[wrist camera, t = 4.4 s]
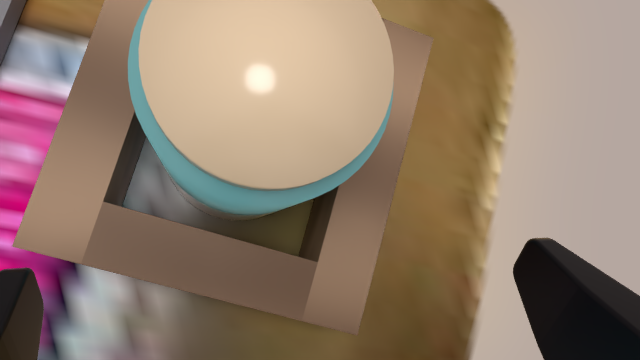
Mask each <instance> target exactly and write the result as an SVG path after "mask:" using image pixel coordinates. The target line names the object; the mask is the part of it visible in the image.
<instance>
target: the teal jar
mask: <svg viewBox="0 0 640 360" xmlns="http://www.w3.org/2000/svg"><path fill="white" fill-rule="evenodd" d="M393 79H394V65H393V54H392V49H391V44H390V39H389V36H388V33H387V30H386V27H385V25H384V22H383V20H382V18H381V16H380V14H379V12H378V10H377V8H376V7H375V5H374V4H373V2H372V0H149V1H148V2H147V4H146V6H145V7H144V9H143V10H142V12H141V14H140V17H139V19H138V21H137V23H136V26H135V28H134V32H133V35H132V39H131V43H130V48H129V56H128V83H129V89H130V95H131V100H132V103H133V106H134V109H135V113H136V116H137V118H138V120H139V122H140V124H141V126H142V129H143V131H144V133H145V135H146V136H147V138H148V140H149V142H150V143H151V145H152V147H153V149H154V150H155V152H156V154H157V156H158V157H159V159H160V161H161V163H162V164H163V166H164V168H165V170H166V171H167V173H168V175H169V177H170V178H171V180H172V182H173V184H174V185H175V187H176V188H177V190H178V191H179V192H180V193H181V195H182V196H183V197H184V198H185V199H186V200H187V201H188V202H189V203H191V204H192V205H193V206H195V207H196V208H197V209H199V210H201V211H202V212H204V213H206V214H208V215H211V216H214V217H217V218H221V219H225V220H235V221H242V220H251V219H256V218H260V217H263V216H266V215H269V214H271V213H274V212H277V211H280V210H282V209H285V208H288V207H291V206H293V205H296V204H299V203H302V202H304V201H307V200H310V199H313V198H315V197H318V196H320V195H322V194H324V193H326V192H328V191H330V190H332V189H334V188H336V187H337V186H339V185H340V184H342V183H343V182H345V181H346V180H347V179H349V178H350V177H351V176H352V175H353V174H354V173H355V172H357V171H358V170H359V169H360V168H361V166H362V165H363V164H364V163H365V162H366V161H367V159H368V158H369V157H370V156H371V154H372V153H373V151H374V150H375V148H376V146H377V145H378V143H379V141H380V139H381V137H382V135H383V133H384V131H385V128H386V125H387V122H388V119H389V116H390V111H391V106H392V100H393V85H394V82H393Z"/></svg>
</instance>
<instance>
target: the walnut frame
mask: <svg viewBox="0 0 640 360" xmlns="http://www.w3.org/2000/svg"><path fill="white" fill-rule="evenodd" d="M148 1H149V0H105V1H104V4H103V6H102V9H101V12H100V14H99V17H98V20H97V22H96V25H95V28H94V30H93V33H92V36H91V38H90V41H89V44H88V46H87V49H86V52H85V54H84V57H83V60H82V62H81V65H80V68H79V70H78V73H77V76H76V78H75V81H74V83H73V86H72V89H71V91H70V94H69V97H68V99H67V102H66V105H65V107H64V110H63V113H62V115H61V118H60V121H59V123H58V126H57V129H56V131H55V134H54V137H53V139H52V142H51V145H50V147H49V150H48V153H47V155H46V158H45V161H44V163H43V166H42V168H41V171H40V174H39V176H38V179H37V182H36V184H35V187H34V190H33V192H32V195H31V198H30V200H29V203H28V206H27V208H26V211H25V214H24V216H23V219H22V222H21V224H20V227H19V230H18V232H17V235H16V238H15V240H14V243H13V247H16V248H20V249H24V250H28V251H32V252H36V253H40V254H44V255H47V256H51V257H55V258H59V259H63V260H67V261H71V262H75V263H78V264H82V265H86V266H90V267H94V268H98V269H102V270H106V271H109V272H113V273H117V274H121V275H125V276H129V277H133V278H137V279H140V280H144V281H148V282H152V283H156V284H160V285H164V286H168V287H171V288H175V289H179V290H183V291H187V292H191V293H195V294H199V295H202V296H206V297H210V298H214V299H218V300H222V301H226V302H230V303H233V304H237V305H241V306H245V307H249V308H253V309H257V310H261V311H265V312H268V313H272V314H276V315H280V316H284V317H288V318H292V319H296V320H299V321H303V322H307V323H311V324H315V325H319V326H323V327H327V328H330V329H334V330H338V331H342V332H346V333H350V334H354V335H358V331H359V327H360V323H361V320H362V316H363V312H364V308H365V304H366V300H367V296H368V292H369V288H370V284H371V280H372V276H373V273H374V269H375V265H376V261H377V257H378V253H379V249H380V245H381V241H382V237H383V233H384V230H385V226H386V222H387V218H388V214H389V210H390V206H391V202H392V198H393V194H394V190H395V186H396V183H397V179H398V175H399V171H400V167H401V163H402V159H403V155H404V151H405V147H406V143H407V140H408V136H409V132H410V128H411V124H412V120H413V116H414V112H415V108H416V104H417V100H418V96H419V93H420V89H421V85H422V81H423V77H424V73H425V69H426V65H427V61H428V57H429V53H430V50H431V46H432V42H433V38H432V37H429V36H427V35H424V34H422V33H419V32H417V31H414V30H411V29H409V28H406V27H404V26H401V25H398V24H396V23H393V22H391V21H388V20H386V19H383V18H382V20H383V22H384V25H385V27H386V30H387V33H388V36H389V39H390V44H391V49H392V54H393V65H394V79H393V82H394V85H393V100H392V106H391V111H390V116H389V119H388V122H387V125H386V128H385V131H384V133H383V135H382V137H381V139H380V141H379V143H378V145H377V146H376V148H375V150H374V151H373V153H372V154H371V156H370V157H369V158H368V159H367V161H366V162H365V163H364V164H363V165H362V166H361V168H360V169H359V170H358V171H357V172H355V173H354V174H353V175H352V176H351V177H350V178H349V179H347V180H346V181H345V182H343V183H342V184H340V185H339V186H337V187H336V188H334V189H332V190H330V191H328V192H326V193H324V194H322V195H320V196H318V197H315V199H314V203H313V206H312V210H311V213H310V217H309V220H308V224H307V227H306V231H305V235H304V238H303V242H302V245H301V249H300V252H299V256H298V257H297V256H294V255H290V254H287V253H283V252H280V251H276V250H273V249H269V248H265V247H262V246H258V245H255V244H251V243H248V242H244V241H241V240H237V239H234V238H230V237H227V236H223V235H220V234H216V233H212V232H209V231H205V230H202V229H198V228H195V227H191V226H188V225H184V224H181V223H177V222H174V221H170V220H166V219H163V218H159V217H156V216H152V215H149V214H145V213H142V212H138V211H135V210H131V209H128V208H124V207H122V204H123V201H124V198H125V195H126V192H127V190H128V187H129V184H130V181H131V178H132V175H133V172H134V169H135V166H136V163H137V161H138V158H139V155H140V152H141V149H142V146H143V143H144V140H145V137H146V135H145V133H144V131H143V129H142V126H141V124H140V122H139V120H138V118H137V116H136V113H135V109H134V106H133V103H132V100H131V95H130V89H129V83H128V56H129V48H130V43H131V39H132V35H133V32H134V28H135V26H136V23H137V21H138V19H139V17H140V14H141V12H142V10H143V9H144V7H145V6H146V4H147V2H148Z"/></svg>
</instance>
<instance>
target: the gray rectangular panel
mask: <svg viewBox="0 0 640 360" xmlns="http://www.w3.org/2000/svg"><path fill="white" fill-rule="evenodd" d="M26 1H27V0H0V65H1V62H2V60H3V57H4V55H5V52H6V50H7V48H8V45H9V43H10V40H11V38H12V35H13V33H14V30H15V28H16V25H17V23H18V20H19V18H20V15H21V13H22V10H23V8H24V6H25V3H26Z"/></svg>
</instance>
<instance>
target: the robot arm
mask: <svg viewBox="0 0 640 360" xmlns="http://www.w3.org/2000/svg"><path fill="white" fill-rule="evenodd" d="M513 275H514V279H515V282H516V285H517V288H518V291H519V293H520V296H521V299H522V302H523V305H524V308H525V311H526V314H527V317H528V319H529V322H530V325H531V328H532V331H533V333H534V336H535V339H536V341H537V344H538V347H539V349H540V351H541V353H542V356H543V358H544V360H640V296H639V295H637V294H636V293H634V292H633V291H631V290H630V289H628V288H627V287H625V286H624V285H622V284H620V283H619V282H617V281H616V280H614V279H613V278H611V277H610V276H608V275H606V274H605V273H604V272H602V271H600V270H599V269H597V268H596V267H594V266H593V265H591V264H590V263H588V262H587V261H585V260H583V259H582V258H580V257H579V256H577V255H576V254H574V253H573V252H571V251H570V250H568V249H567V248H565V247H564V246H562V245H560V244H559V243H557V242H556V241H554V240H553V239H550V238H534V239H530V240H529V241H527V243H526V244H525V246H524V248H523V250H522V251H521V253H520V255H519V257H518V259H517V261H516V262H515V264H514V268H513ZM43 311H44V306H43V299H42V296H41V293H40V290H39V287H38V283H37V280H36V277H35V274H34V272H33V271H32V269H30V268H12V269H4V270H2V271H0V360H37V358H38V350H39V343H40V335H41V328H42V320H43Z"/></svg>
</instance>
